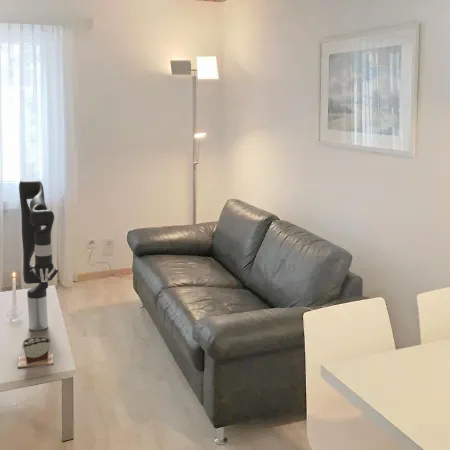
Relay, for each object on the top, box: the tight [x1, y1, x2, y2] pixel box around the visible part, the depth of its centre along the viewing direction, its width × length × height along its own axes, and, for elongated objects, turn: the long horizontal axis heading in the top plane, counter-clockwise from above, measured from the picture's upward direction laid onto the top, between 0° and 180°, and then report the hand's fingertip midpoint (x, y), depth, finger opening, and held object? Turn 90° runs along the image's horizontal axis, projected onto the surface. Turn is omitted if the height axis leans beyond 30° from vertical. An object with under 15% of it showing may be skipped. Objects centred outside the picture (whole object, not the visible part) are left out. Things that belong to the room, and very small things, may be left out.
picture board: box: [17, 352, 54, 370], centre depth 261 cm, size 11×15×1 cm
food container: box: [21, 335, 51, 364], centre depth 260 cm, size 12×6×10 cm, turn 125°
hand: (44, 289), depth 268 cm, fingers closed
